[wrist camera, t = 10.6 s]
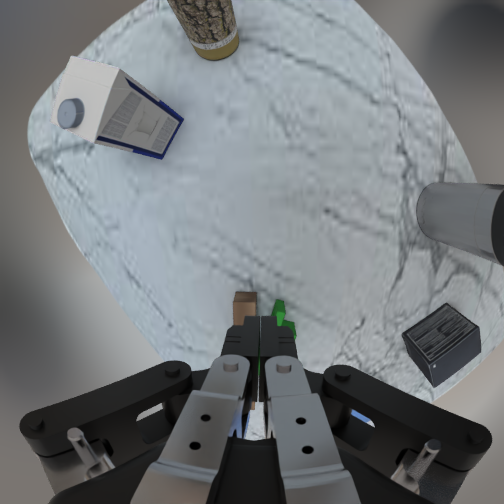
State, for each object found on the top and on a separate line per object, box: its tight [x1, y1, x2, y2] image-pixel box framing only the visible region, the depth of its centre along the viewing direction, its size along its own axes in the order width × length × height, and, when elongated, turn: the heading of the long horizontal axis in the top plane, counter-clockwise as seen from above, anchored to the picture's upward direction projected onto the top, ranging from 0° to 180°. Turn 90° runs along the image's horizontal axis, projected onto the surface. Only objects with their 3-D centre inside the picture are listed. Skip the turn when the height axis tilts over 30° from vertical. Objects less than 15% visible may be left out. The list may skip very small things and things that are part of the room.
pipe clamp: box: [259, 299, 296, 370], centre depth 40 cm, size 11×4×5 cm, turn 164°
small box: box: [402, 303, 481, 388], centre depth 36 cm, size 11×6×10 cm, turn 121°
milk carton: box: [50, 56, 184, 160], centre depth 27 cm, size 7×7×20 cm
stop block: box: [233, 292, 257, 410], centre depth 41 cm, size 3×20×4 cm, turn 0°
